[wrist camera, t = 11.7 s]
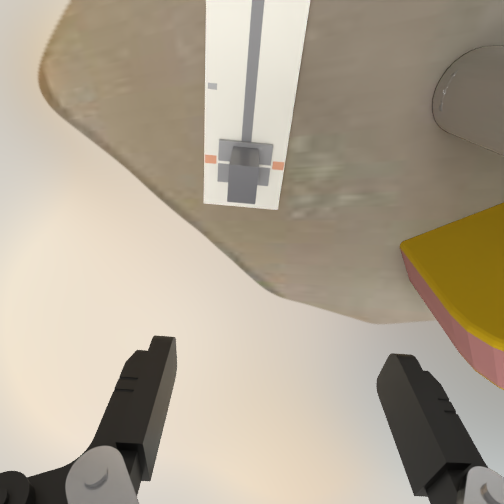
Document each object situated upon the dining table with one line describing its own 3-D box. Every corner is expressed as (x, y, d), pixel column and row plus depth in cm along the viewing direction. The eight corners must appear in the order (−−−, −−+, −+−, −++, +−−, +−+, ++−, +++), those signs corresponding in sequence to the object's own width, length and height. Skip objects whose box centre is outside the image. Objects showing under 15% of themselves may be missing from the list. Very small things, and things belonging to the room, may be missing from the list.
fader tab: (272, 144, 37) (277, 164, 30) (267, 184, 40) (270, 210, 33) (219, 138, 36) (212, 157, 30) (218, 179, 39) (210, 204, 33)
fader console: (318, -76, 28) (323, -86, 26) (276, 202, 44) (277, 210, 42) (210, -91, 28) (207, -102, 26) (206, 195, 43) (203, 203, 41)
